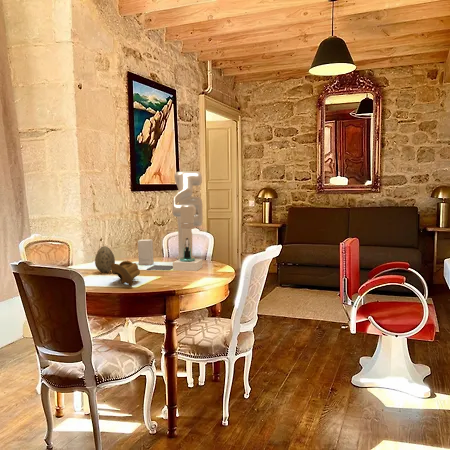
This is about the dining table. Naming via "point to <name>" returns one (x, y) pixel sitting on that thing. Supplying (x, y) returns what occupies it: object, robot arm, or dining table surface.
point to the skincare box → (145, 252)
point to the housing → (187, 265)
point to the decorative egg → (104, 259)
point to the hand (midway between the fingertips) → (187, 256)
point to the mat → (160, 267)
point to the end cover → (187, 258)
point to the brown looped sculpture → (126, 271)
